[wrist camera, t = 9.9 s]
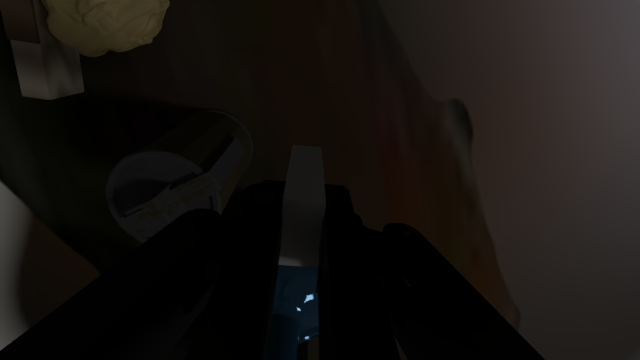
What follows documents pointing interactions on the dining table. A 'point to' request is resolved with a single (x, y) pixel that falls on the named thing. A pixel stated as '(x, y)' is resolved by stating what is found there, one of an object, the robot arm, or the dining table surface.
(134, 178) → the canister
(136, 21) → the sculpture
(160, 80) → the dining table surface
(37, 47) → the board
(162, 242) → the robot arm
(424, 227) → the dining table surface
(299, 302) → the wine bottle
